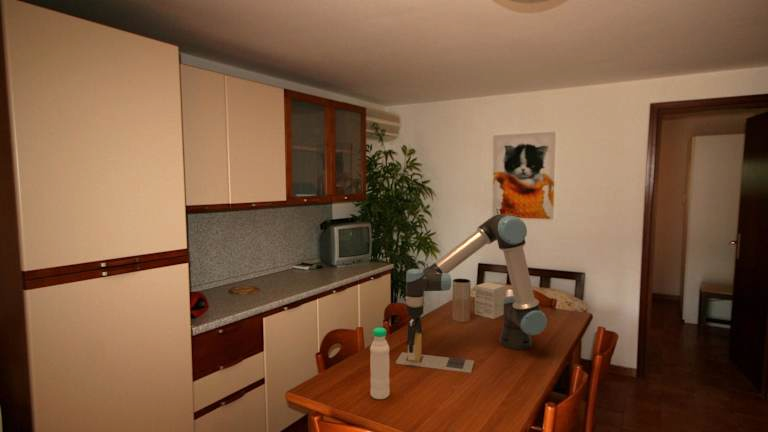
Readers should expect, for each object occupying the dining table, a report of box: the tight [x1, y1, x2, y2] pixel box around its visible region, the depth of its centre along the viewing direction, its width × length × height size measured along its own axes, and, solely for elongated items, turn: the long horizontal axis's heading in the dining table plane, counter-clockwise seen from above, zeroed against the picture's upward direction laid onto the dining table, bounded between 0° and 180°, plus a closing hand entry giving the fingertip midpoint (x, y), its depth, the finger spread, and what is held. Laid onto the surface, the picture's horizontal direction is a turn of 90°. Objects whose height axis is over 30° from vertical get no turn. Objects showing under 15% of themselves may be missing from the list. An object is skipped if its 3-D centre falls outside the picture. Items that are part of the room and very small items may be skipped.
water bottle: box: [369, 327, 391, 400], centre depth 160 cm, size 7×7×25 cm
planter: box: [451, 278, 472, 323], centre depth 248 cm, size 10×10×23 cm
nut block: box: [407, 332, 423, 362], centre depth 191 cm, size 5×5×12 cm
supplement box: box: [474, 281, 507, 320], centre depth 258 cm, size 13×13×18 cm
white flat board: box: [395, 352, 475, 374], centre depth 189 cm, size 32×10×1 cm, turn 73°
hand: (414, 354), depth 191 cm, fingers open, 11 cm apart
